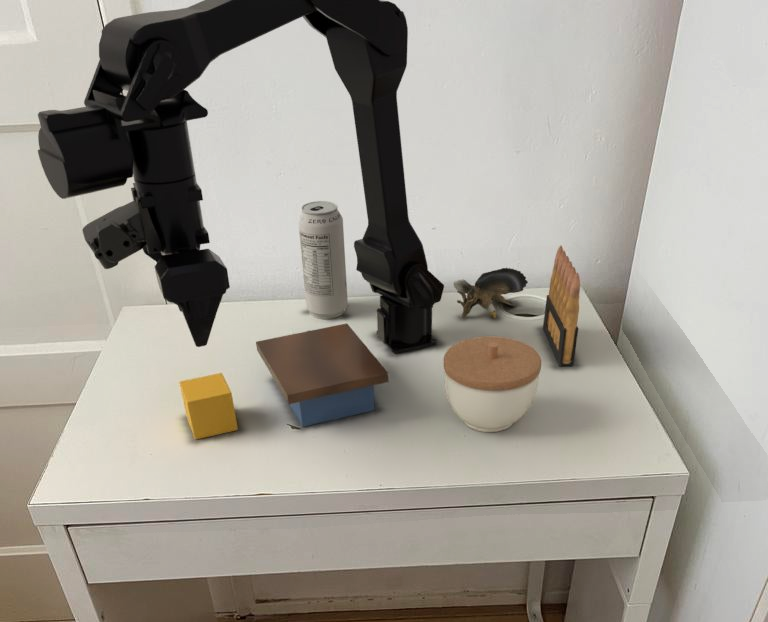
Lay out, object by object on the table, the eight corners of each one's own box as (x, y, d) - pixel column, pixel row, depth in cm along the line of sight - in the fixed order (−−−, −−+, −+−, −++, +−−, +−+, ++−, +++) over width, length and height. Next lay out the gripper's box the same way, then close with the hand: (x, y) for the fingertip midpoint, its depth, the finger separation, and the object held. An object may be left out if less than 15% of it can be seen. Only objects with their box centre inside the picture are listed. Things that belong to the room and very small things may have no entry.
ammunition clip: (573, 366, 100) (586, 275, 92) (559, 366, 100) (571, 276, 92) (555, 328, 108) (566, 242, 100) (542, 329, 108) (552, 243, 100)
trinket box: (449, 446, 87) (451, 372, 81) (436, 397, 95) (437, 325, 89) (544, 440, 87) (554, 365, 81) (523, 391, 95) (530, 319, 89)
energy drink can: (356, 310, 114) (351, 205, 105) (327, 324, 111) (319, 217, 101) (327, 299, 117) (319, 196, 108) (298, 313, 114) (287, 208, 104)
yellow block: (228, 409, 94) (221, 372, 91) (238, 430, 90) (231, 392, 87) (187, 418, 93) (178, 381, 90) (195, 440, 89) (187, 402, 86)
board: (347, 331, 100) (347, 323, 99) (388, 382, 90) (388, 372, 89) (256, 350, 97) (255, 341, 96) (288, 404, 87) (287, 395, 86)
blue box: (341, 365, 102) (339, 337, 99) (374, 410, 93) (373, 380, 90) (274, 379, 99) (270, 351, 97) (302, 427, 90) (298, 397, 88)
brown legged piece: (487, 324, 107) (537, 296, 109) (465, 276, 105) (515, 248, 108) (461, 333, 114) (508, 306, 117) (440, 288, 112) (488, 262, 115)
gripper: (68, 160, 79) (106, 306, 88) (85, 216, 65) (127, 382, 75) (179, 147, 82) (203, 290, 91) (217, 199, 68) (241, 360, 78)
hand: (192, 327), depth 84 cm, fingers open, 9 cm apart
